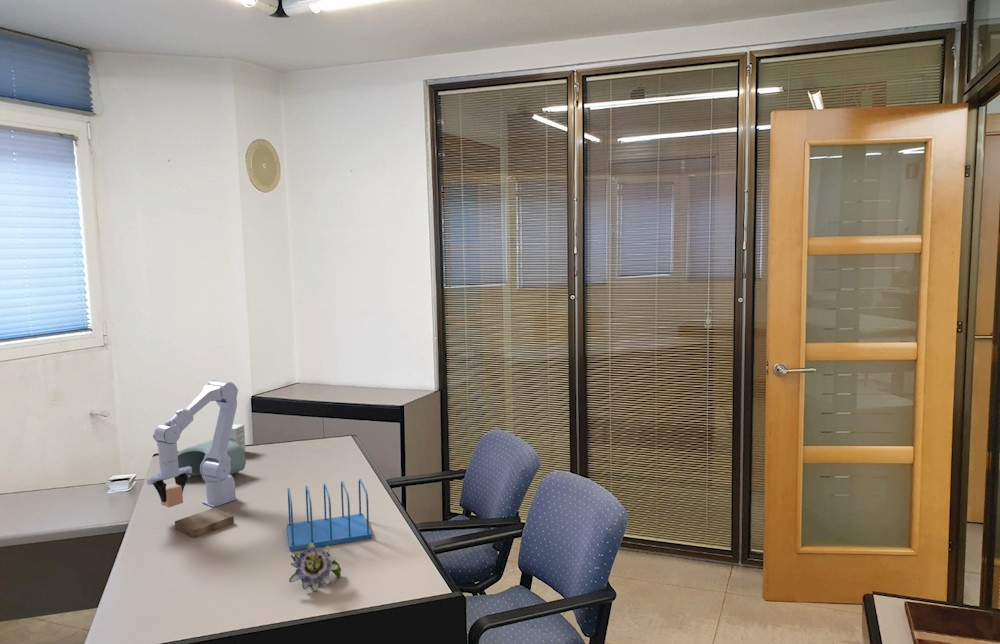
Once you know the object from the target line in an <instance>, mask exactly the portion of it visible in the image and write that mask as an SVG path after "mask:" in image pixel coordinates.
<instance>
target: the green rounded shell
mask: <svg viewBox="0 0 1000 644" xmlns="http://www.w3.org/2000/svg"><path fill="white" fill-rule="evenodd" d="M212 442H213V439H211V440H209V441H204V442H202V443H198V444H195V445H192V446H188V447H187V448H183V449H181V450H179V451H177V453H178V465H179V468H184V467H188V466H189V467H192V473H187V474H186V475H188V477H189V476H190V477H193V476H195V477H196V476H201V479H202V481H204V482H205V478H204V475H202V474H201V472H200V465H201V463H202V461H203V460H204V457H205V455H206V454H207V453H208V452H209V451H210V450H211V447H212ZM245 453H246V452H244V450H243V448H242V447H241V446H240V445H239V444H238V443H235V442H232V441H229V444H228V448H227V454H228V456H229V457H230V459H231V461H230V466H231V471H230V475H233V474H236V473H239V472H242V471H244V469H245V467H246V464H247V463H246V462H247V461H246V454H245ZM215 460H217V459H215Z"/></svg>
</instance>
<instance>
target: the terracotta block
mask: <svg viewBox="0 0 1000 644" xmlns="http://www.w3.org/2000/svg"><path fill="white" fill-rule="evenodd" d="M183 497H184V496H183V494H182V486H181V485H178V484H176V482H173V483H169V484H166V502H162V501H161V500H160V502H161V503H160V504H161V505H162V506H164V507H166V508H172V507H175V506H178V505H180V504H184V499H183Z"/></svg>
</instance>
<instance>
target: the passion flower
mask: <svg viewBox="0 0 1000 644" xmlns="http://www.w3.org/2000/svg"><path fill="white" fill-rule="evenodd" d="M329 550H330V545H327V546H323V547H322V548H321V549H317V547H315V546H314V544H313V543H311V542H310V543H309V545H308V547H307V549H304V550H303V552H297V551H296V552H294V556H293V554H291V556H290V558H291V559H292V560H293V561H292V562H291V563H290V565H291V566H292V567H295V572H294V573H293V574H292V575H291V576H290V577H289V579H288V581H289V582H290V583H295V582H297V581H299V580H301V584H302V585H301V586H302V588H303V590H306V589H307V588H309V587H310V588H311V591H312V592H313V593H315V592H316V591H317V590H318V587H319V584H320V582H322V583H323V584H326V585H329V584H330V572H332V573H333V574H334V575H335V577H336V578H337V579H339V578H340V577H341V575H342V572H341V571H342V568H341V567H340V563H338V561H337V560H336V558H337V557H336V555H333V554H330V552H329Z"/></svg>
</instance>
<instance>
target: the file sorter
mask: <svg viewBox="0 0 1000 644" xmlns="http://www.w3.org/2000/svg"><path fill="white" fill-rule="evenodd" d="M361 486H362V487H361ZM361 488H362V489H363V491H364V493H365V498H366V499H365V501H366V517H365V515H364V514H363V513H362V496H361V493H362V492H361ZM344 492H345V494H346V501H347V515H345V514H344V513H345V511H344V510H345V508H344ZM291 493H292V492H291V489H290V487H288V488H287V508H288V523H287V524H286V534H287V539H288V547H289V551H290V552H294V551H300V550H301V551H302V550H306V549H307V547H308V545H309V543H310V542H311V543H313V544H314V546H315V547H316V548H319V547H326V546H332V545H337V544H344V543H350V542H351V543H352V542H358V541H365V540H370V539H371V540H372V538H373V537H372V532H371V529H370V525H369V524H370V522H369V521H370V520H369V517H370V516H369V512H370V511H369V494H368V490H367V488H366V487H365V485H364V482H363V480H362V479H361V478H359V479H358V507H359V508H358V513H355V514H351V508H350V504H351V503H350V497H349V492H348V490H347V488H346V485H345V483H344V481H343V480H342V481H340V495H341V496H340V497H341V516H335V517H332V504H331V502H332V501H331V496H330V493H329V490H328V487H327V483H323V506H324V508H323V509H324V518H321V519H314V520H313V509H312V508H313V507H312V499H311V495H310V491H309V486H308V485H305V504H306V505H305V506H306V520H305V521H299V522H294V516H293V515H294V513H293V500H292V499H293V498H292V494H291ZM326 496H327V498H326ZM326 499H327V500H328V517H327V500H326ZM309 518H310V520H309Z"/></svg>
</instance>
